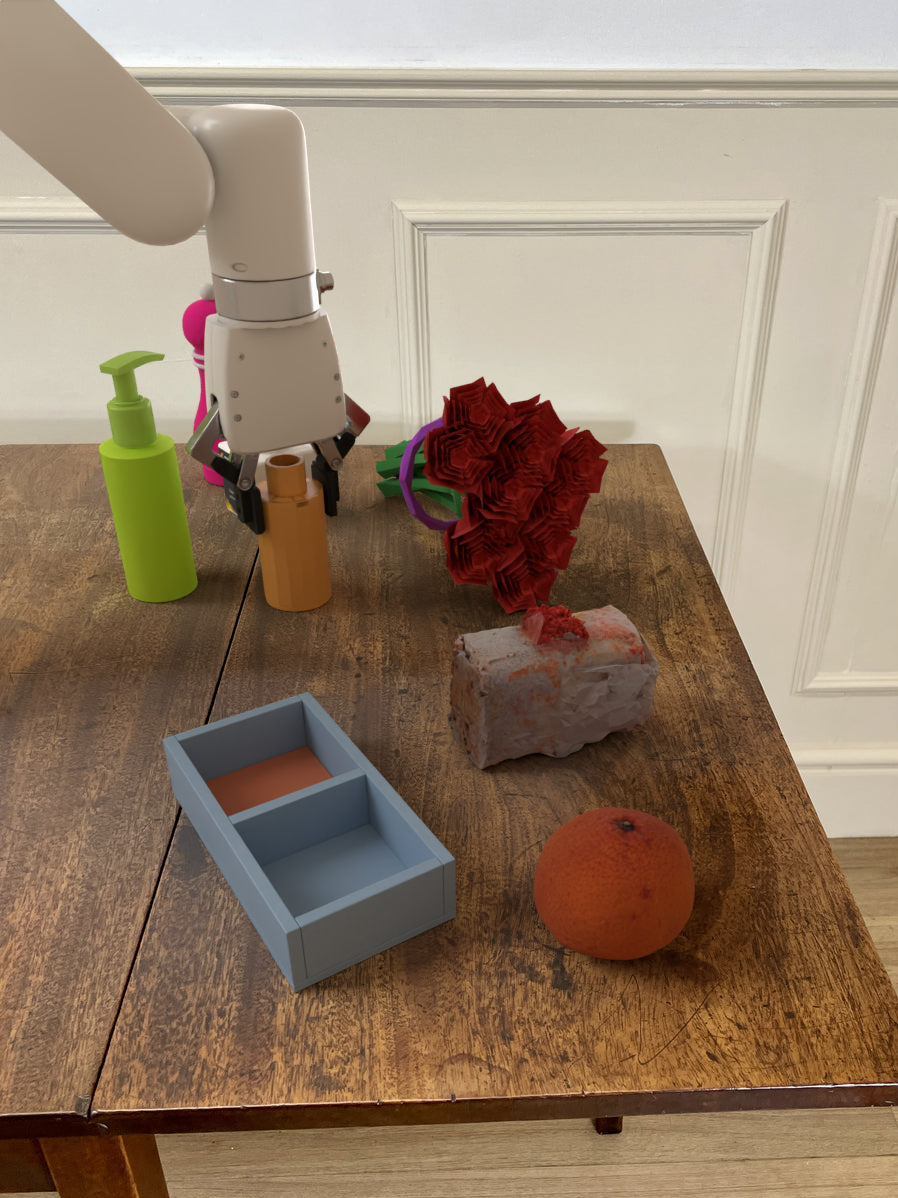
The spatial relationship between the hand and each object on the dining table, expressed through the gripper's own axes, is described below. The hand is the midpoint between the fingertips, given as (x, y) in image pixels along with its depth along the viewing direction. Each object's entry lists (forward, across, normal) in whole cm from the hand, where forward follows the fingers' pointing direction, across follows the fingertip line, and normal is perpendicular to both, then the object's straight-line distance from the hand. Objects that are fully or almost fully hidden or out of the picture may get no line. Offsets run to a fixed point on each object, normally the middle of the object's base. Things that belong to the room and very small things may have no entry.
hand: (290, 517), depth 87 cm
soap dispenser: (+8, +9, -8) cm, 14 cm away
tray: (+7, +13, +30) cm, 34 cm away
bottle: (+7, 0, 0) cm, 7 cm away
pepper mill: (+8, -5, -28) cm, 29 cm away
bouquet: (+8, -17, -2) cm, 19 cm away
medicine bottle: (+8, -5, -17) cm, 19 cm away
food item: (+8, -7, +28) cm, 30 cm away
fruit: (+8, +1, +45) cm, 46 cm away
